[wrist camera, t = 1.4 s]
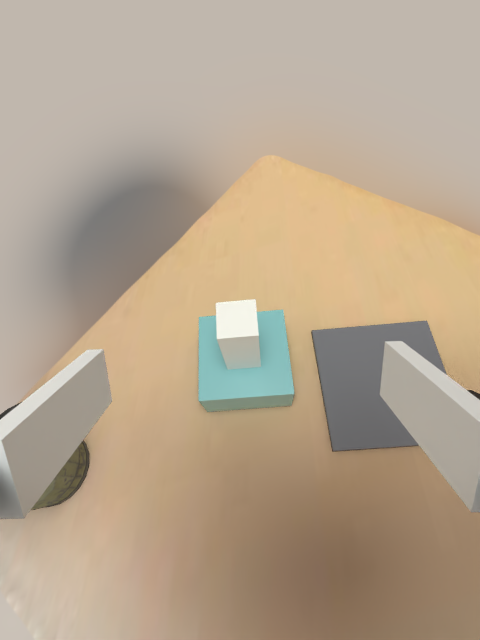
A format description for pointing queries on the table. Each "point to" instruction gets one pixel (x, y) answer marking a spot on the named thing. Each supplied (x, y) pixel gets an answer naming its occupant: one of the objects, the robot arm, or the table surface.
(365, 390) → the mat
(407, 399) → the robot arm
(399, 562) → the table surface
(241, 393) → the cover
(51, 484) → the olive green tall cylinder
